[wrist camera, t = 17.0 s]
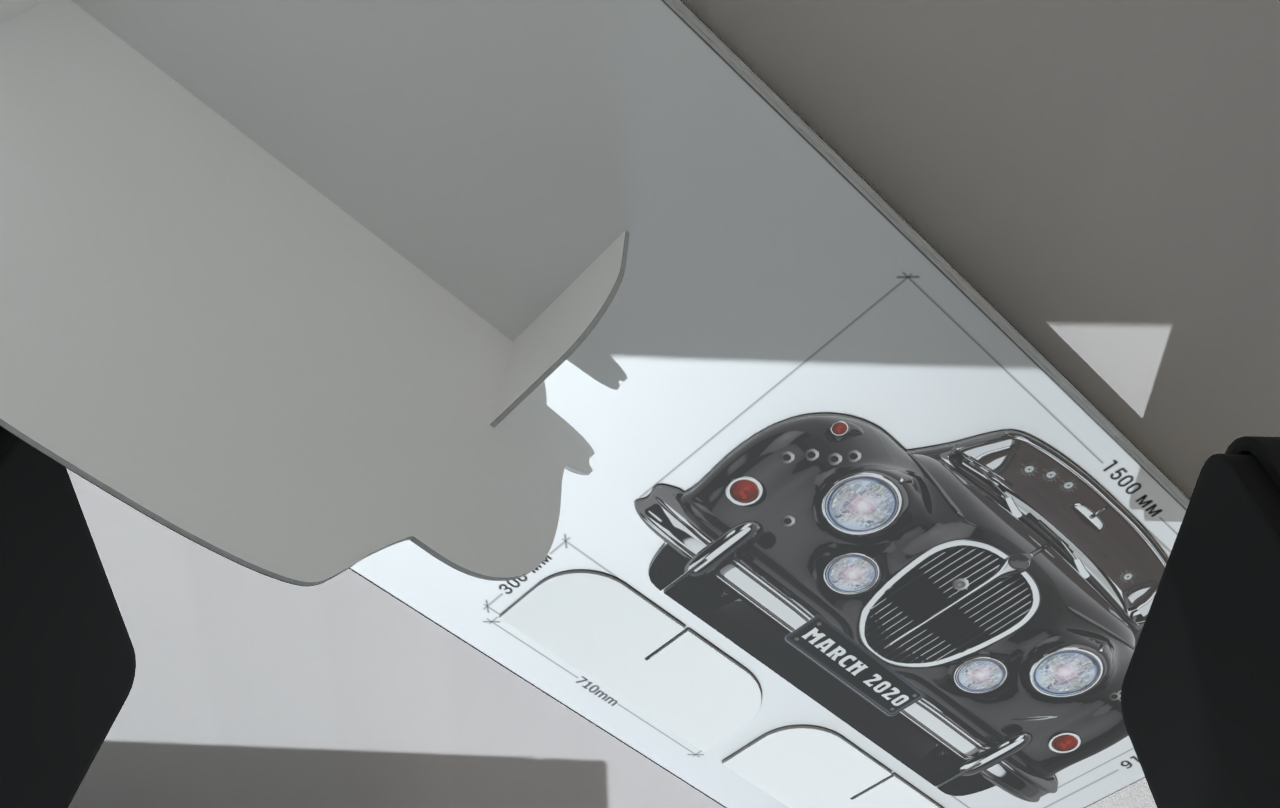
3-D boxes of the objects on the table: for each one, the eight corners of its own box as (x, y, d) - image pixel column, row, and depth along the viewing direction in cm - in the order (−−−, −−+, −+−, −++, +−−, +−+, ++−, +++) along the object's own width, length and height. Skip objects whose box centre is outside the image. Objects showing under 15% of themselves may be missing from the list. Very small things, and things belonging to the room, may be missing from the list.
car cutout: (-200, 178, 10) (-729, 482, 6) (149, -520, 7) (-457, -725, 3) (880, 879, 15) (937, 1271, 12) (1334, 641, 12) (1605, 1062, 9)
